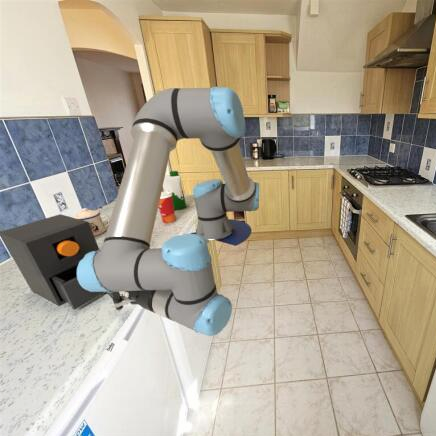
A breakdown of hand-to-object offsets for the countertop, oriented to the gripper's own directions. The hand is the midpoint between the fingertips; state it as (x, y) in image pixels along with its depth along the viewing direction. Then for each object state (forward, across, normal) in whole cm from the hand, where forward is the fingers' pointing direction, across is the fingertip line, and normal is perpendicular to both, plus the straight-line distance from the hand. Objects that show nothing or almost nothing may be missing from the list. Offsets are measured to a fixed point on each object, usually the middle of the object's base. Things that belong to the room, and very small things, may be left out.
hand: (101, 271), depth 62 cm
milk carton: (+45, +61, -11) cm, 77 cm away
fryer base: (+21, 0, -11) cm, 24 cm away
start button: (+13, 0, +2) cm, 13 cm away
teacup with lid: (+54, +25, -11) cm, 60 cm away
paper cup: (+34, +47, -11) cm, 59 cm away
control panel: (+21, 0, -1) cm, 22 cm away
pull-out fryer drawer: (+13, 0, -10) cm, 16 cm away
